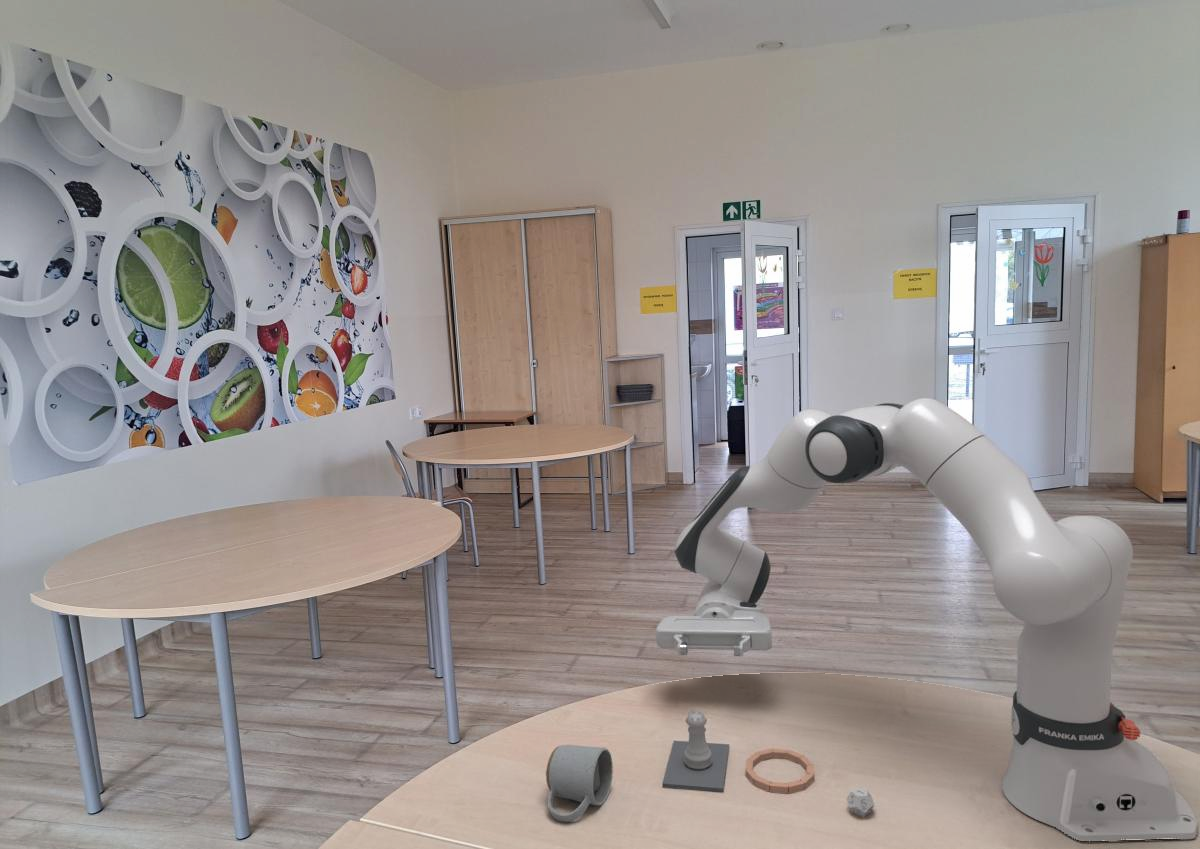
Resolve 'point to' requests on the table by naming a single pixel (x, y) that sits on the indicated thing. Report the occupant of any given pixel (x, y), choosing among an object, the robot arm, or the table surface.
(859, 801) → the game die
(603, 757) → the ceramic mug
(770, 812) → the table surface
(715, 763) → the charcoal mat
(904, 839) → the table surface
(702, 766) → the rook chess piece
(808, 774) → the terracotta ring
